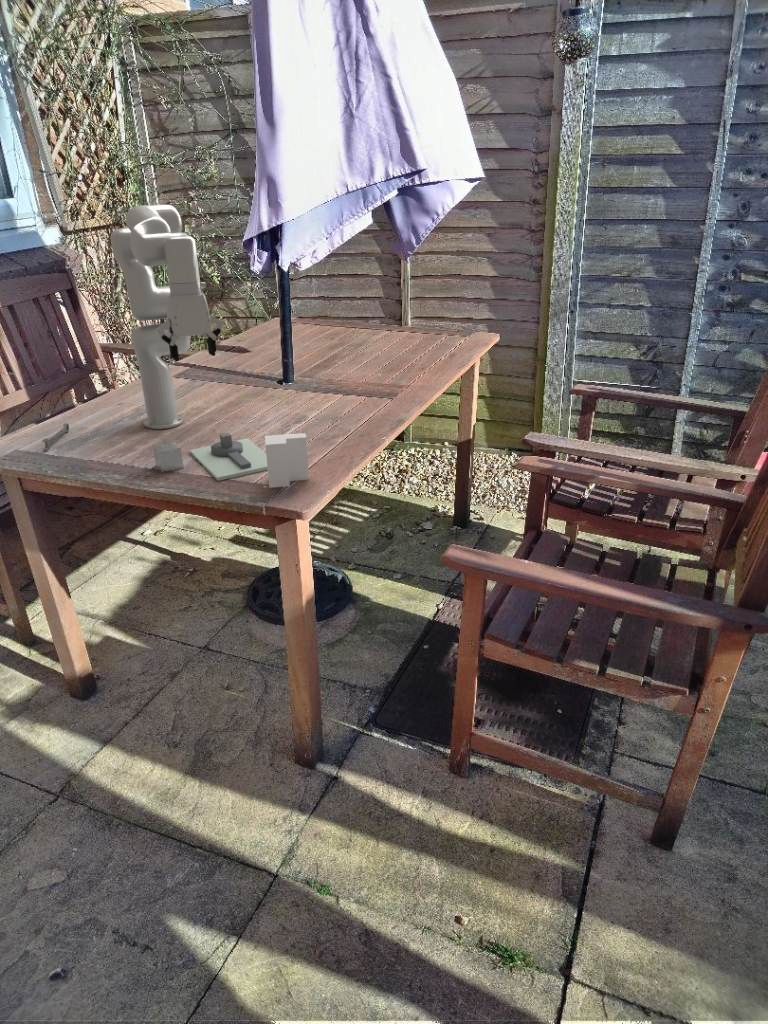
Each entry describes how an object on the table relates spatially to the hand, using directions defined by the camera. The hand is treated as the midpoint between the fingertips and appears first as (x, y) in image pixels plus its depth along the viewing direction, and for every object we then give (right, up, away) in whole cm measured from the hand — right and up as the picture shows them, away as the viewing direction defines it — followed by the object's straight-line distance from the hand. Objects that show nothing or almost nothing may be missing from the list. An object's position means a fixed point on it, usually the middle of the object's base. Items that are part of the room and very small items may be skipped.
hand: (194, 357), depth 183 cm
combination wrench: (-52, -19, +35) cm, 65 cm away
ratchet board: (+6, -25, +19) cm, 32 cm away
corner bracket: (+23, -31, +8) cm, 40 cm away
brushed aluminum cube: (-11, -27, +15) cm, 33 cm away
